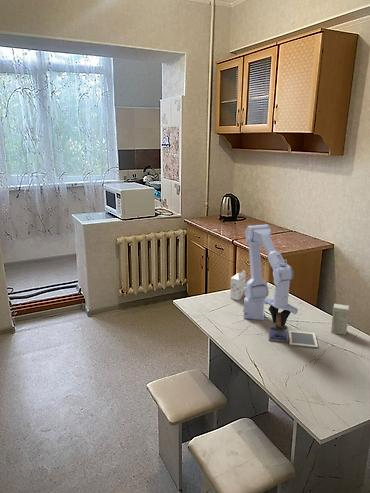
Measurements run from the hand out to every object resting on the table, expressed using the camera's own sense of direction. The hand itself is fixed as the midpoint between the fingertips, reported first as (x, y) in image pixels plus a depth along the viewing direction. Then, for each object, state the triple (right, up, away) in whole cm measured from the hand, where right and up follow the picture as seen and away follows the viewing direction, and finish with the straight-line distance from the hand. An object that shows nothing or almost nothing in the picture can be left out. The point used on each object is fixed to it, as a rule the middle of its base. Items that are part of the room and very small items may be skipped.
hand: (279, 323), depth 157 cm
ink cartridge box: (-12, +6, +41) cm, 43 cm away
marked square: (+10, -7, 0) cm, 12 cm away
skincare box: (+28, -5, +6) cm, 29 cm away
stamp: (0, -2, +1) cm, 3 cm away
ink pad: (0, -6, +2) cm, 6 cm away
